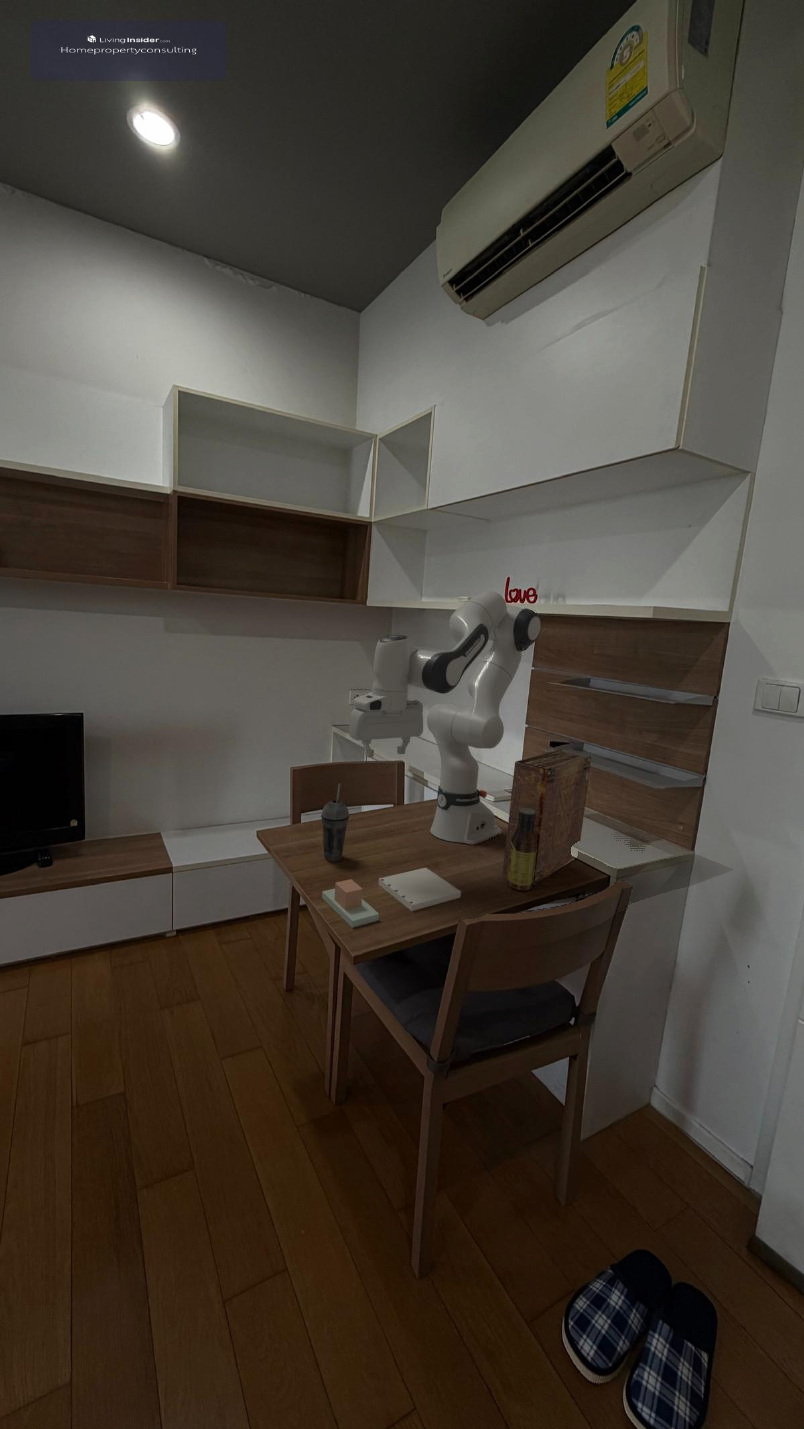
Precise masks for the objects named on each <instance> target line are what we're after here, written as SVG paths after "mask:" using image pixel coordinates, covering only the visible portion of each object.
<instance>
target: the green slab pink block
mask: <svg viewBox="0 0 804 1429" xmlns="http://www.w3.org/2000/svg"><path fill="white" fill-rule="evenodd" d="M363 890H364V889H363V888H362V887H361V886H360V885H359V884H358V883H357V882H355V881H354V880H353V879H351V878H350V879H346V880H342V881H337V882H334V888H332V889H327V890H323V891H322V893H321V898H322V899H323V901H324V902H326V903H327V904H328V905H329V906H330V907H331V908H332V910H334V911H335V912H336V913H337V914H338V916H340V917H341V919H343V920H344V921H345V923H347V924H348V926H350V927H351V928H352V929H353V928H356V927H361V926H362V925H367V924H370V923H375V922H377V921H379V919H380V918H379V917H380V913H378V911H376V909H374V908H373V907H372V906H371V905H370V904H369V903H368V902H366V901H365V899H363Z"/></svg>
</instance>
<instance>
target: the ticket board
mask: <svg viewBox="0 0 804 1429" xmlns="http://www.w3.org/2000/svg"><path fill="white" fill-rule="evenodd" d="M378 885H379V887H381V888H383V889H384V890H385V891H387V893H389V894H390V895H391V896H392V897H394V898H395V899H396V901H397V900H398V901H399V902H400V903H401V904H402V905H404V907H406V908H407V909H409V910H410V911H411V912H414V911H418V910H421V909H424V908H428V907H431V906H435V905H439V904H442V903H445V902H449V901H452V900H457V899H460V898H461V897H462V891H461V890H460V889H458V888H456V887H455V886H454V885H453V884H451V883H449V882H448V881H447V880H445V879H444V878H441V877H440V876H439V875H438V874H436V873H435V872H434V871H432V870H430V869H429V868H427V867H422V868H417V869H414V870H410V871H405V872H401V873H397V874H393V875H388V876H384V877H379V878H378Z"/></svg>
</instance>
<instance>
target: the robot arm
mask: <svg viewBox="0 0 804 1429" xmlns="http://www.w3.org/2000/svg"><path fill="white" fill-rule="evenodd" d="M535 612H536V611H535ZM535 612H534V610H532V609H530V608H527V607H525V608H522V607H519V606H515V605H509V604H507V602H506V600H505V598H504V597H503V595H501V593H499V592H497V591H495V590H494V591H493V590H487V591H486V590H485V591H484V592H482V593H479V594H476V595H475V596H473V597H471V598H469V599H468V600H467V601H465V602H464V603H463V604H462V605H460V606H459V607H458V608H456V609H455V611H454V612H453V613H452V614H451V615H450V617H449V630H450V634H451V636H452V638H453V639H454V641H456V642H457V644H455V646H454V647H453V648H452V649H450V650H447V651H434V650H426V649H421V648H420V647H418V646H416V645H414V644H413V643H412V642H411V641H410V639H409V638H410V637H408V636H407V635H405V634H404V635H403V634H389V635H384V636H381V637H380V638H379V639H378V641H377V643H376V647H375V652H374V659H373V671H372V672H373V675H374V678H373V679H374V680H373V683H372V686H371V691H370V692H368V693H366V694H363V695H361V696H358V697H355V698H354V699H353V702H352V705H353V707H354V709H352V711H351V714H350V717H349V725H348V735H349V736H350V738H351V739H352V740H355V741H361V743H362V746H363V748H364V750H365V751H364V752H365V753H364V754H365V757H366V758H373V757H374V756H375V755H374V753H375V750H374V749H372V748H371V747H370V745H371V744H372V740H384V739H387V740H388V739H398V738H399V739H400V738H401V740H402V741H401V743H400V745H398V746H396V749H397V750H396V753H397V754H399V755H405V754H406V750H407V749H406V748H407V747H408V746H409V744H410V742H411V738H412V737H413V738H414V737H420V736H421V735H422V734H423V733H424V716H423V713H424V705H423V704H422V702H421V701H420V700H418V699H414V700H409V699H408V693H409V686H411V687H415V688H419V689H425V690H429V691H431V692H434V693H438V694H441V695H442V694H443V695H445V694H448V693H450V692H451V691H453V690H454V689H455V688H457V686H458V685H459V683H460V681H461V680H462V678H463V676H464V674H465V672H466V671H467V670H468V668H469V667H470V666H471V665H472V664H473V662H474V661H475V660H476V659H477V658H478V656H480V654H481V653H482V652H483V650H484V649H485V648H486V645H487V644H488V641H492V644H491V648H490V649H489V650H488V651H487V652H486V654H485V655H484V656H483V657H482V658H481V661H480V662H479V664H478V666H477V667H476V668H475V671H474V672H473V674H472V675H471V677H470V679H469V680H468V681H467V690H468V693H469V696H470V697H471V701H470V704H469V705H467V706H465V705H461V704H456V703H449V702H448V703H447V702H445V703H444V702H443V703H437V704H435V705H433V706H432V707H431V709H429V711H428V713H427V716H426V725H427V729H428V730H429V732H430V733H431V734H432V736H433V737H434V739H435V741H436V745H437V747H438V748H437V749H438V752H439V756H440V779H439V780H440V782H439V786H438V788H437V794H436V795H437V796H436V799H437V806H436V810H435V814H434V818H433V821H432V825H431V827H430V829H429V831H430V833H431V835H433V836H434V837H436V838H438V839H441V840H444V841H448V842H453V843H464V844H468V845H477V844H479V843H482V842H484V841H487V840H489V838H490V839H492V838H491V837H493V838H494V836H495V835H498V834H500V833H502V834H503V831H502V829H501V828H500V826H498V825H496V819H495V818H496V817H495V814H494V812H493V811H492V809H490V808H489V807H488V806H486V804H485V803H483V802H482V801H481V798H483V799H485V798H486V797H487V796H488V792H487V791H485V790H482V789H480V790H479V789H478V780H479V769H480V766H479V764H478V762H477V759H476V758H474V756H473V754H472V753H471V750H470V748H469V747H471V748H474V749H494V748H495V747H497V746H498V745H499V744H500V743H501V742H502V739H503V737H504V733H505V729H504V728H505V726H504V723H503V720H502V719H501V717H500V704H501V702H502V700H503V698H504V696H505V694H506V692H507V690H508V688H509V686H510V685H511V683H512V681H513V680H514V677H515V675H516V673H517V671H518V669H519V667H520V664H521V661H522V657H523V654H522V652H525V651H526V650H528V649H529V648H530V646H532V645H533V644H534V643H535V642H536V641H537V640H538V638H539V636H540V634H541V631H542V619H541V616H540V614H539V613H538V612H536V613H535ZM480 797H481V798H480ZM500 835H501V834H500ZM498 836H499V835H498ZM495 837H496V836H495Z"/></svg>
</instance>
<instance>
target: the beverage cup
mask: <svg viewBox="0 0 804 1429" xmlns="http://www.w3.org/2000/svg"><path fill="white" fill-rule="evenodd" d="M340 789H341V783H338V785H337V793H336V799H335V800H331V801H328V802H326V804H324V807H323V809H322V811H321V816H320V818H321V823H322V824H321V825H322V837H323V838H322V840H323V841H322V843H323V854H324V856H323V857H324V858H323V859H325V860H326V861H328V862H339V861H341V860H342V856H343V853H344V852H343V851H344V844H345V838H346V832H347V825H348V823H349V818H350V813H349V809H348V807H347V805H346V804H345V803H344V802H342V801H341V800H340V798H339V797H340V793H341V792H340V791H341V790H340Z"/></svg>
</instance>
